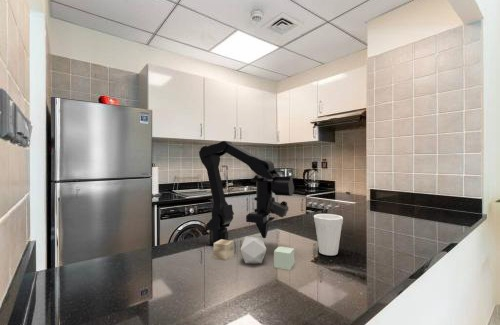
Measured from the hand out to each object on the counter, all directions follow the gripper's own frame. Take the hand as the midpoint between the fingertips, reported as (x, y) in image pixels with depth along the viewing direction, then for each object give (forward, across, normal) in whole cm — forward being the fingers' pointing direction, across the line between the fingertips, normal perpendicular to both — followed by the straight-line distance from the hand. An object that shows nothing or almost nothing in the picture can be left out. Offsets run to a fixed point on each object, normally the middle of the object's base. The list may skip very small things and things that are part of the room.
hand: (264, 237), depth 88 cm
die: (+5, -10, 0) cm, 11 cm away
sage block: (+5, -9, -10) cm, 14 cm away
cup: (+5, +8, -21) cm, 23 cm away
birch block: (+5, -10, +11) cm, 16 cm away
